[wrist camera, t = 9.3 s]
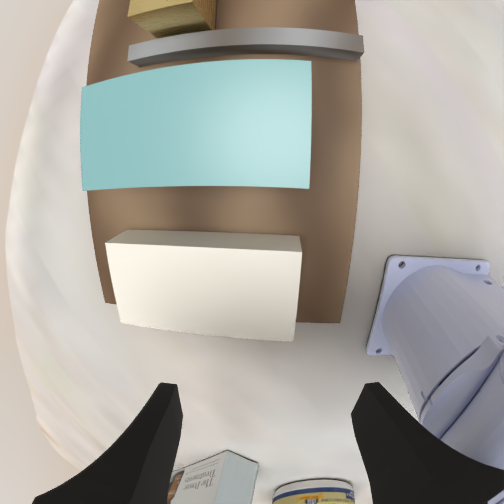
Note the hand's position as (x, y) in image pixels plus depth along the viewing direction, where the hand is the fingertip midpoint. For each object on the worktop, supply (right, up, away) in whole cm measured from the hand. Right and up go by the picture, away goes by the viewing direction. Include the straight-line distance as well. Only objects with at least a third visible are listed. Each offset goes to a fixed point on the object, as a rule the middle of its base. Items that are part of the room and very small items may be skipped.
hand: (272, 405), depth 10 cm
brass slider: (-4, +19, +1) cm, 20 cm away
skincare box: (-8, -25, +21) cm, 34 cm away
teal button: (-3, +12, +3) cm, 12 cm away
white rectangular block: (-3, +5, +7) cm, 9 cm away
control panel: (-3, +13, +6) cm, 14 cm away
